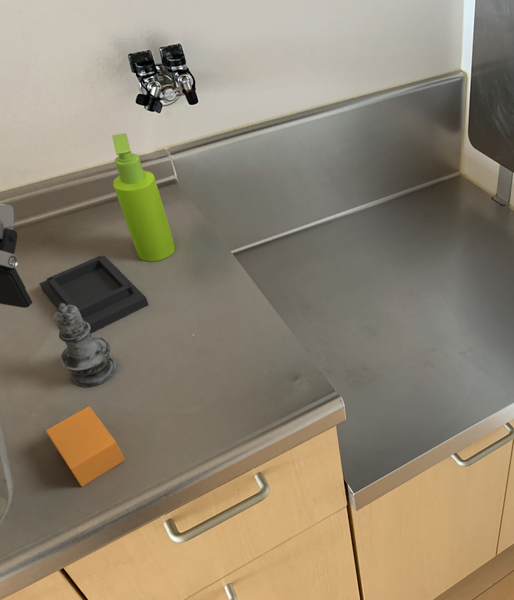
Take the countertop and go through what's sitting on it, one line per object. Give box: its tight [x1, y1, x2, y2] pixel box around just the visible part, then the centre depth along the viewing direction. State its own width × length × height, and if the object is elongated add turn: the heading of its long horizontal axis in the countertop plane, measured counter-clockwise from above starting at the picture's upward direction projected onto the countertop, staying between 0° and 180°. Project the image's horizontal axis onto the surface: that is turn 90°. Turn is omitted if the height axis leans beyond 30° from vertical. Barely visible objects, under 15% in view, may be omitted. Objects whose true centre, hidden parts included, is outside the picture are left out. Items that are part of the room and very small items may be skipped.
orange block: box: [45, 405, 126, 487], centre depth 69 cm, size 5×7×4 cm
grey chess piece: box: [53, 303, 117, 388], centre depth 76 cm, size 6×6×12 cm
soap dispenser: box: [111, 132, 176, 263], centre depth 93 cm, size 6×7×20 cm
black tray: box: [39, 254, 149, 334], centre depth 90 cm, size 10×14×3 cm
